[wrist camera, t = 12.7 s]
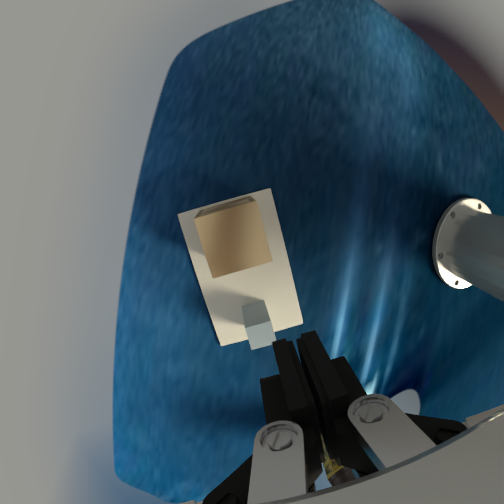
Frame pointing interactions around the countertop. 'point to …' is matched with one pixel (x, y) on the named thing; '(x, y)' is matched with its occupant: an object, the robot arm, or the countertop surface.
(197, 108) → the countertop surface
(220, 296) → the post stand
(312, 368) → the robot arm
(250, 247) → the wood grain cube
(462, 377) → the countertop surface
